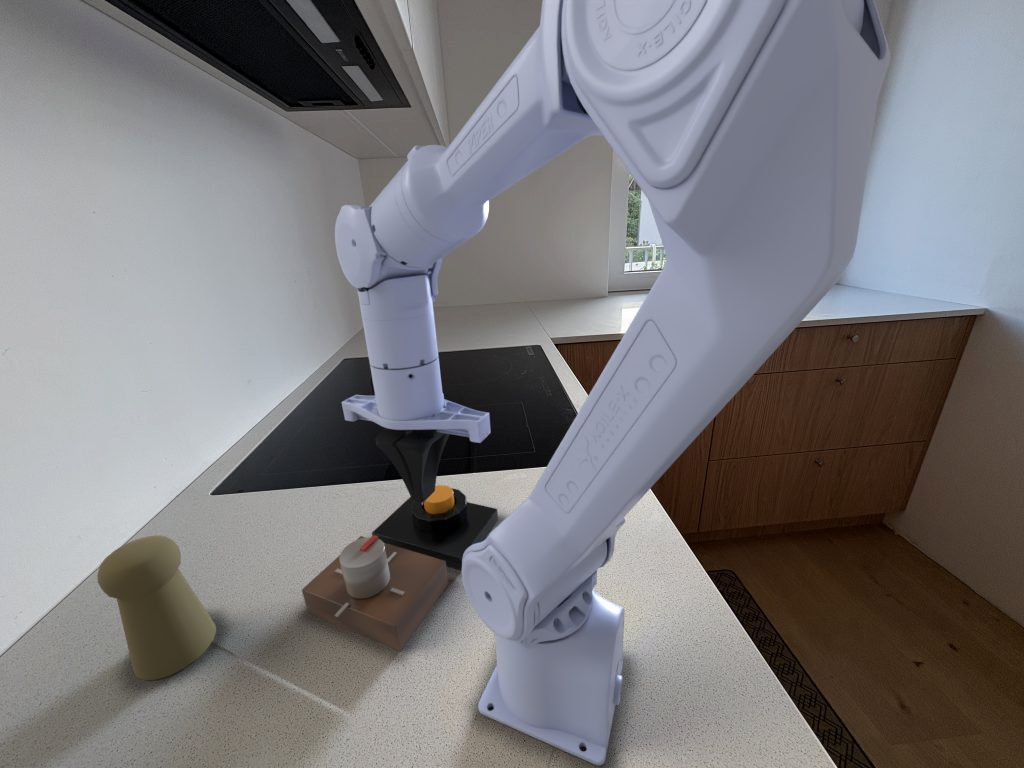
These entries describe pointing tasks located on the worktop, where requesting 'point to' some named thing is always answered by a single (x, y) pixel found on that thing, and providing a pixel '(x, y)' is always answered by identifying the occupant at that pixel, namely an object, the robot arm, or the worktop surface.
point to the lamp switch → (438, 529)
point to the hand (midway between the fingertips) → (423, 494)
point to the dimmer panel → (381, 597)
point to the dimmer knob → (365, 567)
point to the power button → (440, 500)
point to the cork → (156, 607)
